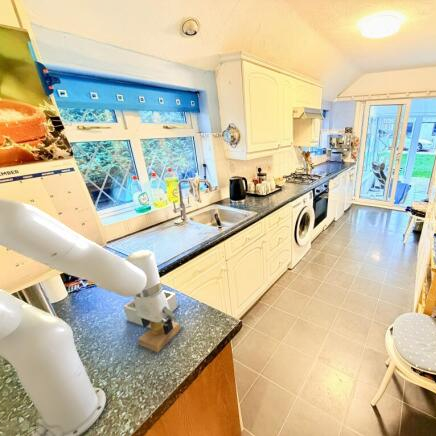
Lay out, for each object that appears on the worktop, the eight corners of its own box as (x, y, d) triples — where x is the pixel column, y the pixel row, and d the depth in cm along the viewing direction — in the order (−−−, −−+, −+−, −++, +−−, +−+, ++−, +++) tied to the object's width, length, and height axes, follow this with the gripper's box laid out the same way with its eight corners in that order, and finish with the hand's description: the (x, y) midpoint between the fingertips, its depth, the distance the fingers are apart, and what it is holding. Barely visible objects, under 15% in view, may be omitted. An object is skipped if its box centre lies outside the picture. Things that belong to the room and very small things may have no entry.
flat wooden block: (158, 352, 78) (156, 345, 77) (139, 345, 80) (137, 338, 79) (180, 329, 87) (179, 323, 85) (163, 323, 89) (161, 317, 88)
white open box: (152, 329, 87) (148, 315, 84) (127, 320, 90) (123, 306, 88) (178, 306, 98) (175, 293, 95) (154, 299, 101) (151, 286, 99)
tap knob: (168, 328, 83) (165, 316, 82) (158, 336, 80) (155, 325, 78) (159, 325, 85) (156, 313, 83) (150, 333, 81) (146, 321, 79)
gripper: (117, 288, 75) (130, 329, 81) (159, 301, 70) (169, 343, 76) (138, 275, 81) (148, 314, 88) (178, 286, 76) (186, 326, 83)
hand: (158, 327), depth 82 cm, fingers open, 9 cm apart
